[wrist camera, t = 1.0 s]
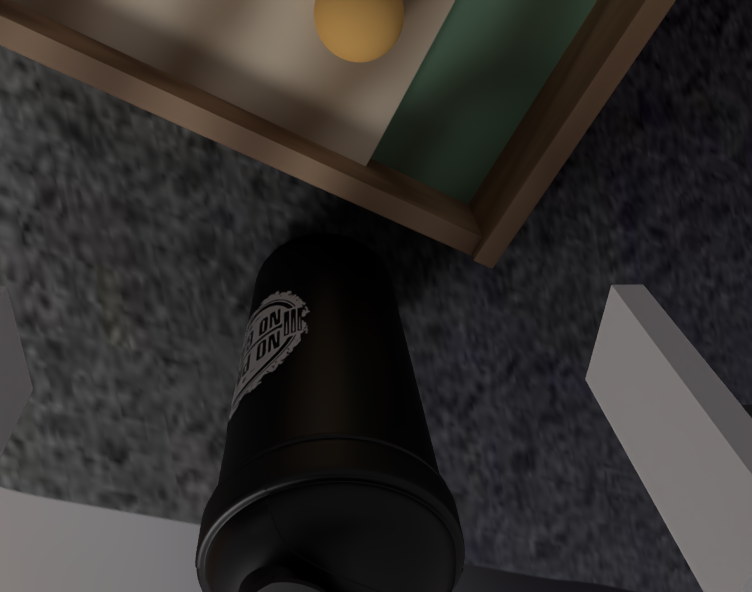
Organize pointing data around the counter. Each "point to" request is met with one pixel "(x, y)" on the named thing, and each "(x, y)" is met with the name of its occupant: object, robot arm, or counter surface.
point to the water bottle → (328, 441)
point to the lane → (365, 93)
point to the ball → (359, 27)
